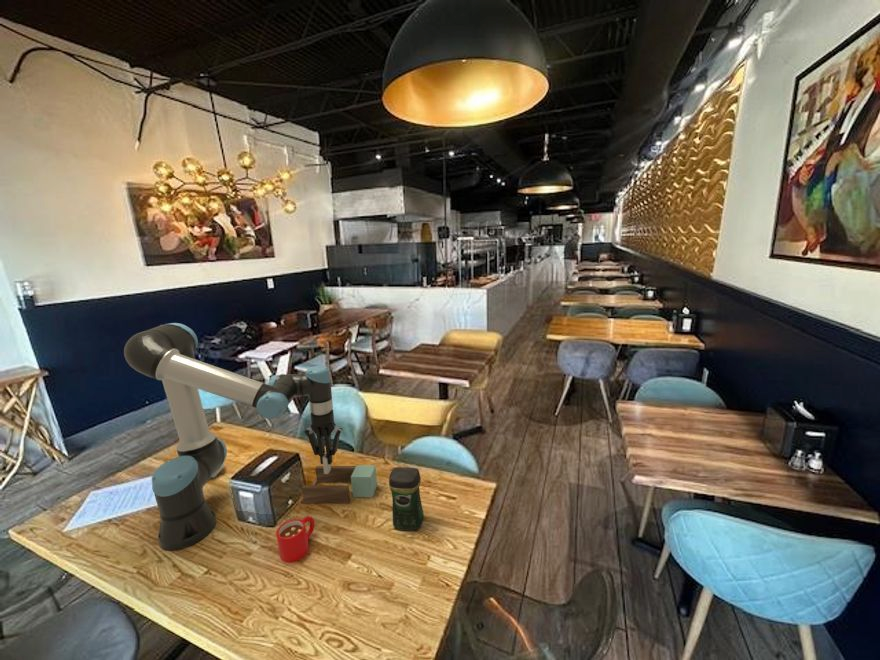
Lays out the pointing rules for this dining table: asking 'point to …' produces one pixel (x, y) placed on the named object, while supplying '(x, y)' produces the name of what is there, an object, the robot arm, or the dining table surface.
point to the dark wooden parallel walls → (329, 486)
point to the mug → (294, 538)
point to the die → (218, 470)
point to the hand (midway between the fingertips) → (327, 471)
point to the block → (364, 481)
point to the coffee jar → (406, 498)
